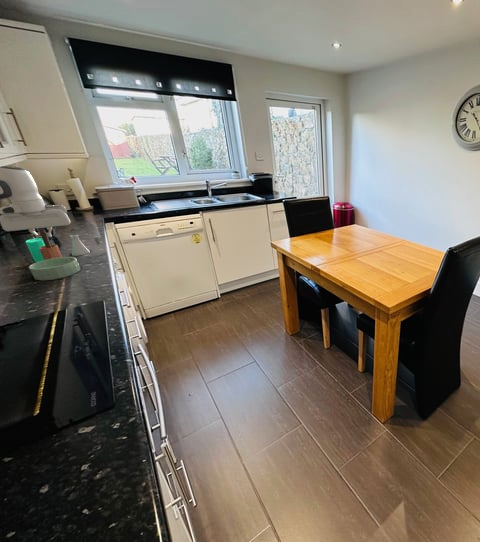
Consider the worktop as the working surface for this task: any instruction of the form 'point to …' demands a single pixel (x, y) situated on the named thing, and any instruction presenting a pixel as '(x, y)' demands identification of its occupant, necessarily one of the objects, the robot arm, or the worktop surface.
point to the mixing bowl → (54, 268)
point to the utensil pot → (50, 252)
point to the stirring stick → (44, 237)
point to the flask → (78, 246)
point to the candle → (35, 248)
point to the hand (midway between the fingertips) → (44, 237)
